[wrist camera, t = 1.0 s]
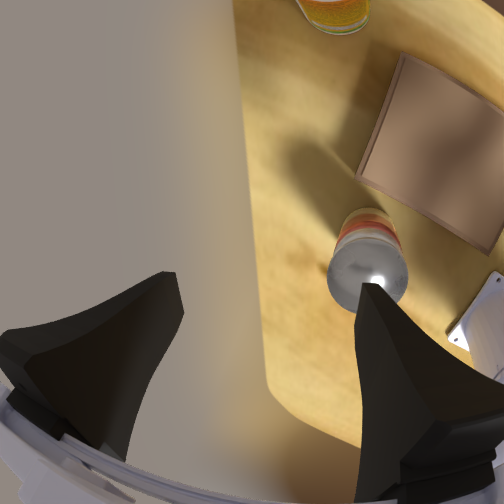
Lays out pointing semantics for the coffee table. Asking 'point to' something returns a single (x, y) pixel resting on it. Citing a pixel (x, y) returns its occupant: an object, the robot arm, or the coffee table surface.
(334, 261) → the tin can
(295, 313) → the coffee table surface
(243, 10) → the coffee table surface
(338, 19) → the supplement bottle
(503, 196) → the brown rectangular block
